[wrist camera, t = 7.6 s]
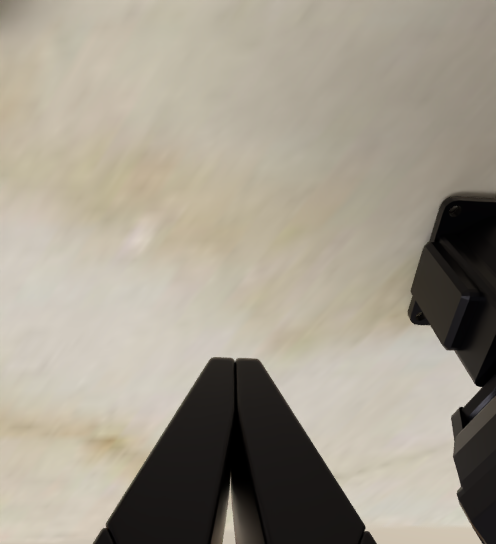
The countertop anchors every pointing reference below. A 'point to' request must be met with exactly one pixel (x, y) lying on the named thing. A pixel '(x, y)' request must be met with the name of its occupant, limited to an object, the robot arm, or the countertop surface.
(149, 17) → the countertop surface
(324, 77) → the countertop surface
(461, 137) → the countertop surface
